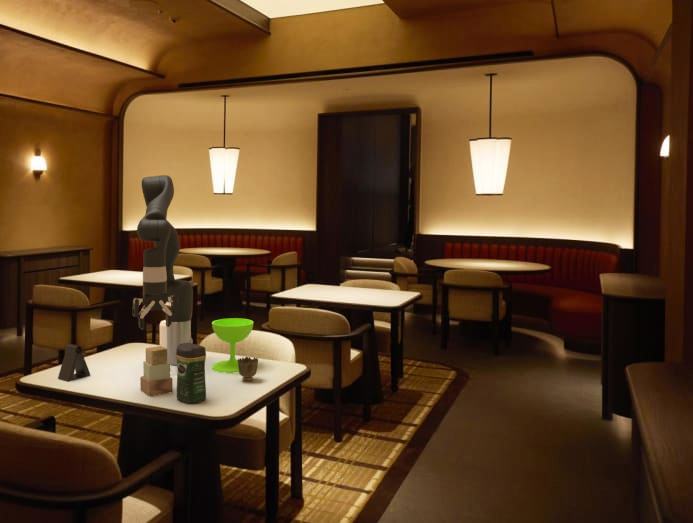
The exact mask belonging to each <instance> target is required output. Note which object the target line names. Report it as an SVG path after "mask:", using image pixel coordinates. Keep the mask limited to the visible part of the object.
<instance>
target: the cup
mask: <svg viewBox="0 0 693 523" xmlns="http://www.w3.org/2000/svg"><path fill="white" fill-rule="evenodd" d="M237 360H238V368H239V373H238V374H239V375H240V376H241V377H242V380H243V382H246V381H249V382H252V381H253V380H254V376H256V374H257V371H258V366H259V358H258V357H255V356H254V357H253V358H251V357H250V356H249V357H248V356H245V357H239V358H238V359H237Z"/></svg>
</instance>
